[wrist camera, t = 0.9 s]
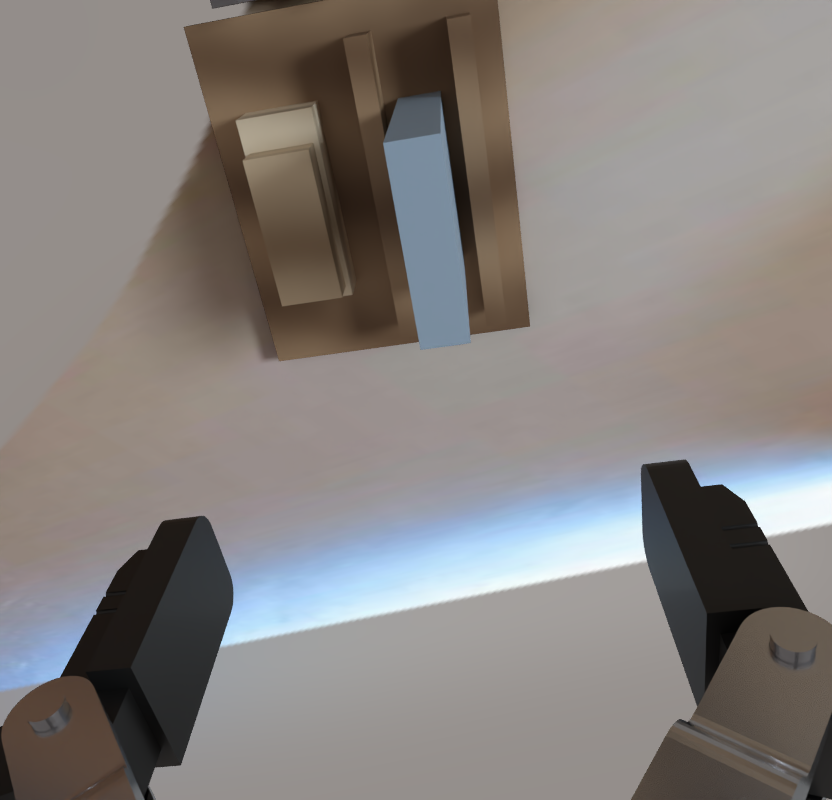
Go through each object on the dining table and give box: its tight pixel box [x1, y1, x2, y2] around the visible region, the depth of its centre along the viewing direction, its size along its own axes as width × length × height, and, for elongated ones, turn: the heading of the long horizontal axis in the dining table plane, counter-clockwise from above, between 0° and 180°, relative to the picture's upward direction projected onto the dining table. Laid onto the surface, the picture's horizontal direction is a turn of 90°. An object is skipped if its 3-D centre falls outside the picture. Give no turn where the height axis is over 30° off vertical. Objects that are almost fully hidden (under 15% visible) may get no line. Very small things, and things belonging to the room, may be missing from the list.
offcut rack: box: [184, 0, 530, 361], centre depth 37 cm, size 17×14×4 cm
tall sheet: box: [383, 91, 471, 350], centre depth 32 cm, size 8×2×10 cm, turn 9°
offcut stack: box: [236, 101, 356, 306], centre depth 36 cm, size 9×4×4 cm, turn 9°
